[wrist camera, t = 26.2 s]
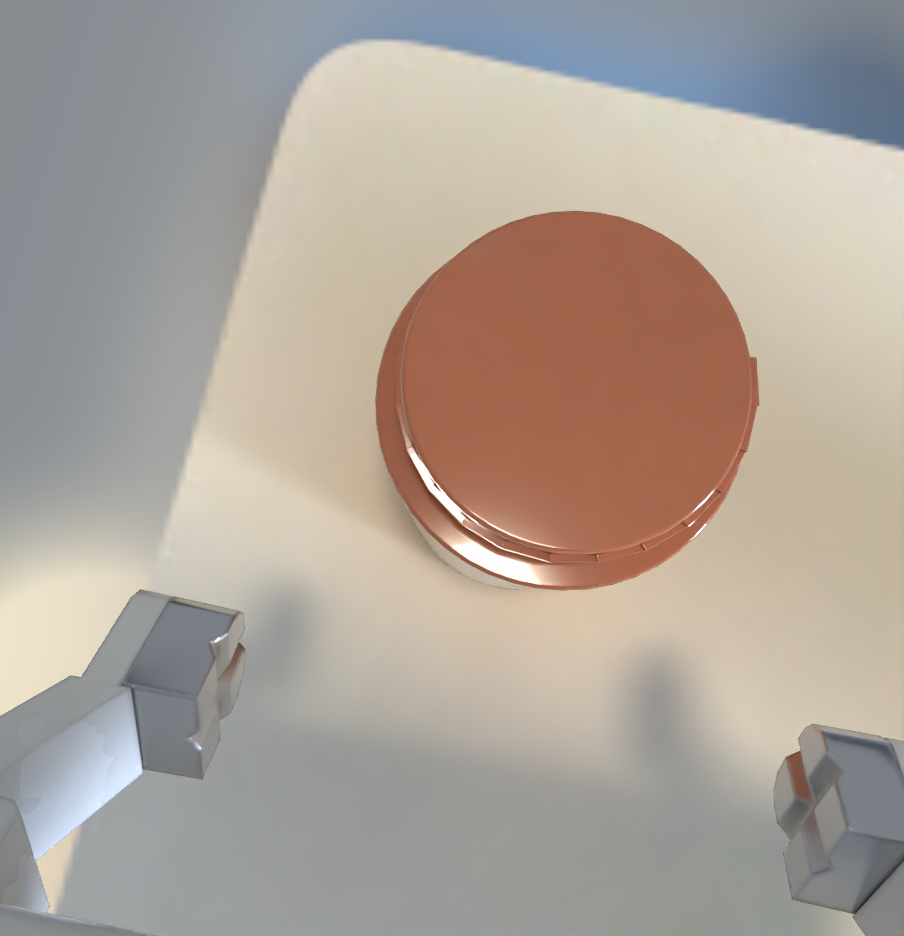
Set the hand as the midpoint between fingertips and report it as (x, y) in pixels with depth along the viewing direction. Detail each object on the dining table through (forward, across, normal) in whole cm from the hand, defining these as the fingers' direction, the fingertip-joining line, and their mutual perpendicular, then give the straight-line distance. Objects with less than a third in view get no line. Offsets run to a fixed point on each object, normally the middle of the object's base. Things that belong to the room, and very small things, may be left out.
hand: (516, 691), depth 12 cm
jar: (+10, 0, -4) cm, 11 cm away
